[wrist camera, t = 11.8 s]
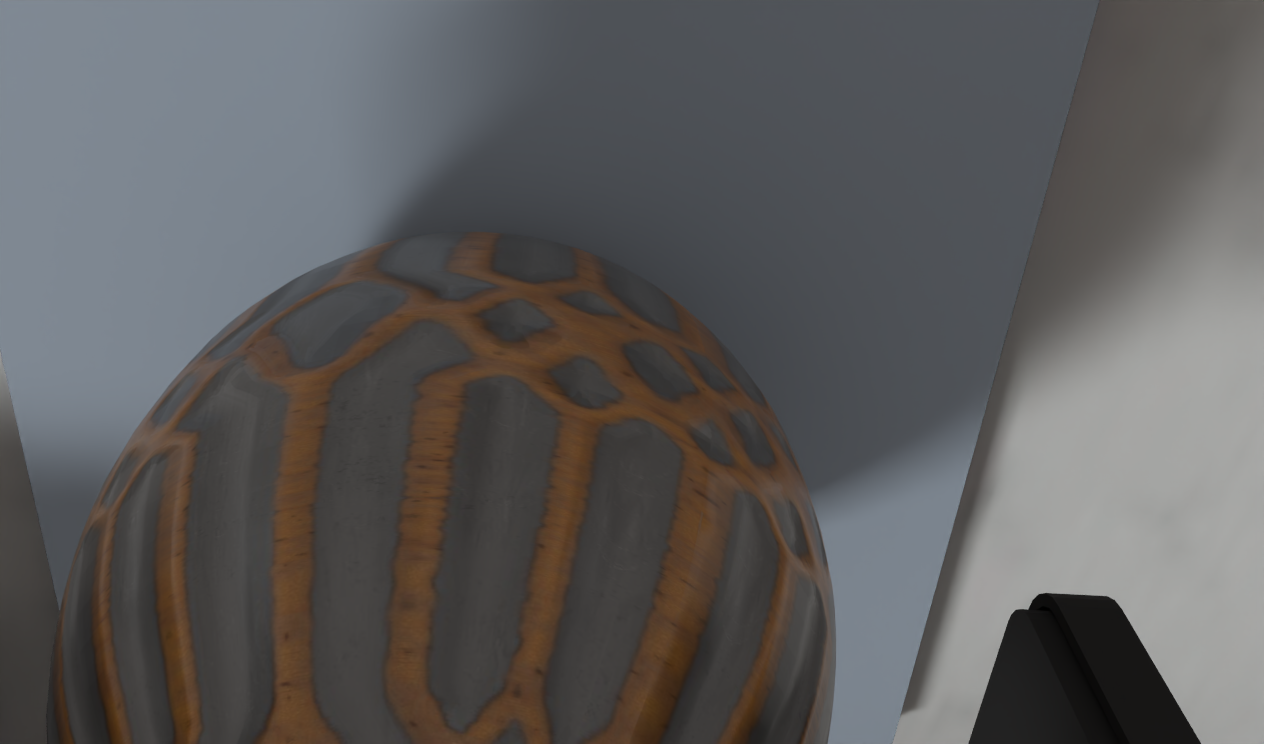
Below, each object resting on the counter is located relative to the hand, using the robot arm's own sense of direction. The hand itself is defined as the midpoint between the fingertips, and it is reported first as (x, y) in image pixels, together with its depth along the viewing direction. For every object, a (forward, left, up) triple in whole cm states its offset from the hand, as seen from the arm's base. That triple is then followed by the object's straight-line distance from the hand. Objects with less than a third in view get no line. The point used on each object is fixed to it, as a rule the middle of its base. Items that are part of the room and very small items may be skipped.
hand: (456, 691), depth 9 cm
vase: (0, 0, -5) cm, 5 cm away
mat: (0, 0, -6) cm, 6 cm away
